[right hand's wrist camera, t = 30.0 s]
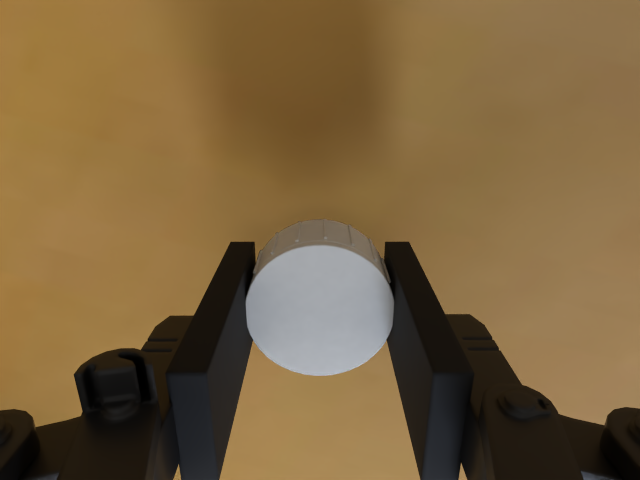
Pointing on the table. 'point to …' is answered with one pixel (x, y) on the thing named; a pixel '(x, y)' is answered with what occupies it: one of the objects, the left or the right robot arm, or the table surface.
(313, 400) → the table surface
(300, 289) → the cap
